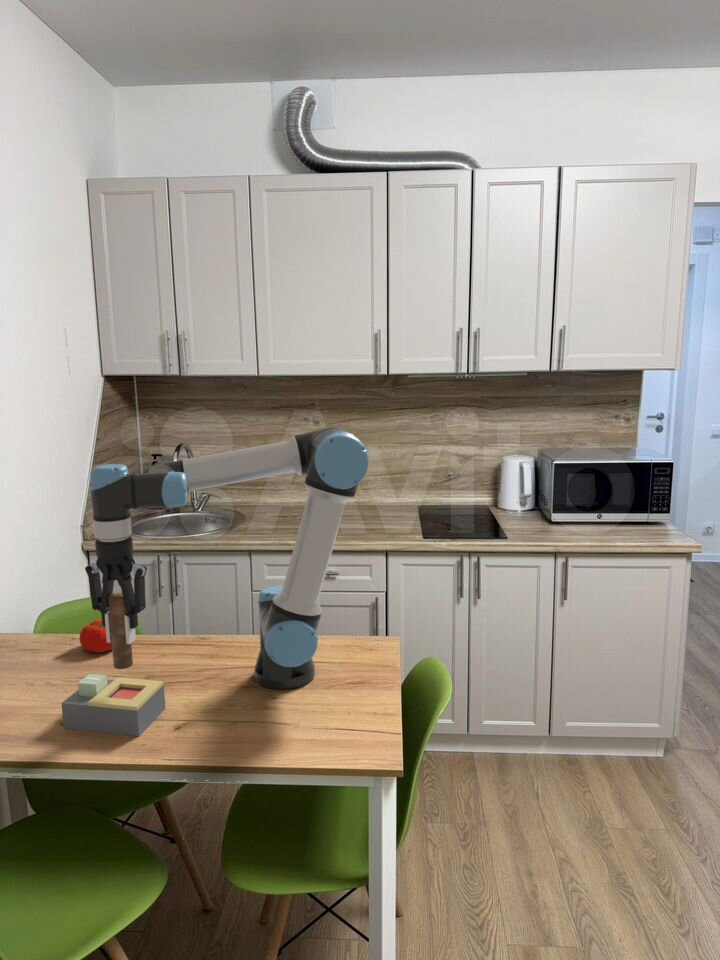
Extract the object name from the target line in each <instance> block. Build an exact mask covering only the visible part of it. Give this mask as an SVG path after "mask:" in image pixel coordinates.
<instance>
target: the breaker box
mask: <svg viewBox="0 0 720 960" xmlns="http://www.w3.org/2000/svg"><path fill="white" fill-rule="evenodd" d="M164 683H165V682H164V681H163V680H154V679H153V680H152V679H142V678H140V679H139V678H131V677H121V676H120V677H115V679H107V684H108V686H107V687H106V688H104V689H103V690H102V691H101V692H100V693H98V694H97V695H96V696H95V697H94V698H93V697H82V696H79V689H77V690H76V691H74V692H73V693H72V694H71V695H69V696H68V697H67V698H66V699H64V700H63V701H62V702H61V712H62V713H61V714H62V722H63V729H67V730H75V731H84V732H95V733H102V734H103V733H104V734H112V735H113V734H115V735H122V736H132V737H140V736H141V735H142V734H143V733H144V732H145V731H146V730H147V729H148V728H149V727H150V726H151V724H153V723H154V722H155V720H157V719H158V717H159V716H161V714H162V713H163V712H164V711H165V710H166V698H165V697H166V696H165V684H164ZM120 689H131V690H141V692H139V693H138V694H137V695H136V696H135V697H134V698H133V699H132V700H130V699H120V698H111V697H112V696H114V695H115V694H116V693H117V692H118V691H119V690H120Z"/></svg>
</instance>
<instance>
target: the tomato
mask: <svg viewBox="0 0 720 960" xmlns="http://www.w3.org/2000/svg"><path fill="white" fill-rule="evenodd" d="M78 640H79V643H80V646H81V647H82V649H83V650H85V651H87V652H92V653H97V654H100V653H104V652H106V651H111V650H112V642H110V643H107V638H106V627H104V626H103V625H102V619H95V620H93V621H92V622H90V624H88V625H86V626H83V628H82V629H81V631H80V633H79V639H78Z"/></svg>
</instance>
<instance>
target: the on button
mask: <svg viewBox="0 0 720 960" xmlns="http://www.w3.org/2000/svg"><path fill="white" fill-rule="evenodd" d="M107 680H108V676H107V675H104V674H95V673H94V674H93V673H89V674H87V675H86V676H85V677H84V678H82V679H81V680H80V681H78V683H77V687H78V689H79V696H82V697H93V698H94V697H95V696H96V695H97V694H98V693H100V692H101V691H102V690H103V689H104V688H106V687H107V686H108V684H107ZM78 689H77V690H78Z"/></svg>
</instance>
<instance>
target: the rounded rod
mask: <svg viewBox="0 0 720 960" xmlns="http://www.w3.org/2000/svg"><path fill="white" fill-rule="evenodd" d="M108 599H109V612H110V625H111V638H112V649H111V650H112V661H113V668H114V669H116V670H124V669H125V670H126V669H129V668H130V667H132V666H133V664H134V663H133V660H134V659H133V647H132V643H131V644H126V632H125V619H124V615H126V614H127V609H126V605H125V602H124V598H123V594H122V592H114V593H113V594H111V595H109V596H108Z"/></svg>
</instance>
